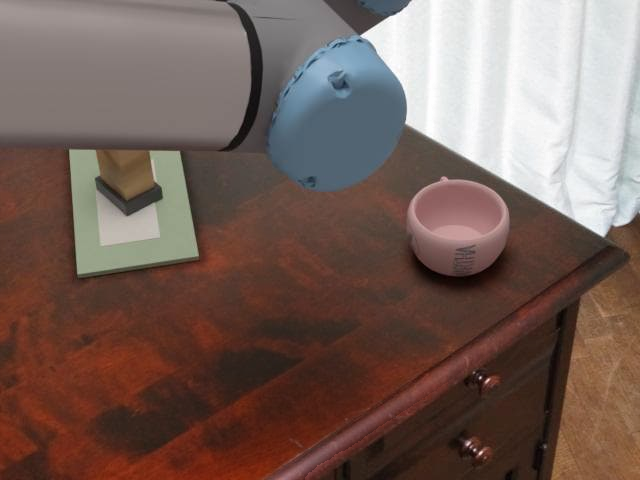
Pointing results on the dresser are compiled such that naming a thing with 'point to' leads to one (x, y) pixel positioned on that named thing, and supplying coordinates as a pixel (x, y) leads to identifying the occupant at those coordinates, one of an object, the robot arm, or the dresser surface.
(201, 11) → the robot arm
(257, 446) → the dresser surface
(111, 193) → the eraser
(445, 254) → the mug
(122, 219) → the chalk board
